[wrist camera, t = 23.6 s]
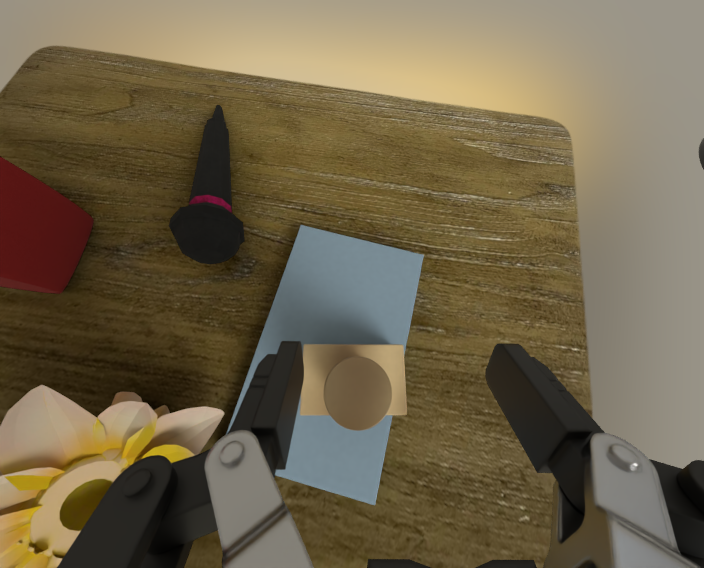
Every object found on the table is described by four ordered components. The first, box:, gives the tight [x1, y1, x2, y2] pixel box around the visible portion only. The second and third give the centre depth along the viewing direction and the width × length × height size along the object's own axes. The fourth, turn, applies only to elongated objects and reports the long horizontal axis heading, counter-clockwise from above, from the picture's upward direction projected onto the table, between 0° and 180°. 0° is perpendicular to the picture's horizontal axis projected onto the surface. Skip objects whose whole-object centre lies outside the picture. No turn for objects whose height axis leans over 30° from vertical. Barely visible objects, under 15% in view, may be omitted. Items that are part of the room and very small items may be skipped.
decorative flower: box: [0, 385, 224, 568], centre depth 14 cm, size 15×11×10 cm
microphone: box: [169, 105, 244, 264], centre depth 25 cm, size 6×6×20 cm
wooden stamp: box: [300, 344, 407, 431], centre depth 15 cm, size 7×4×11 cm, turn 90°
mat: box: [226, 225, 423, 505], centre depth 22 cm, size 12×20×1 cm, turn 165°
